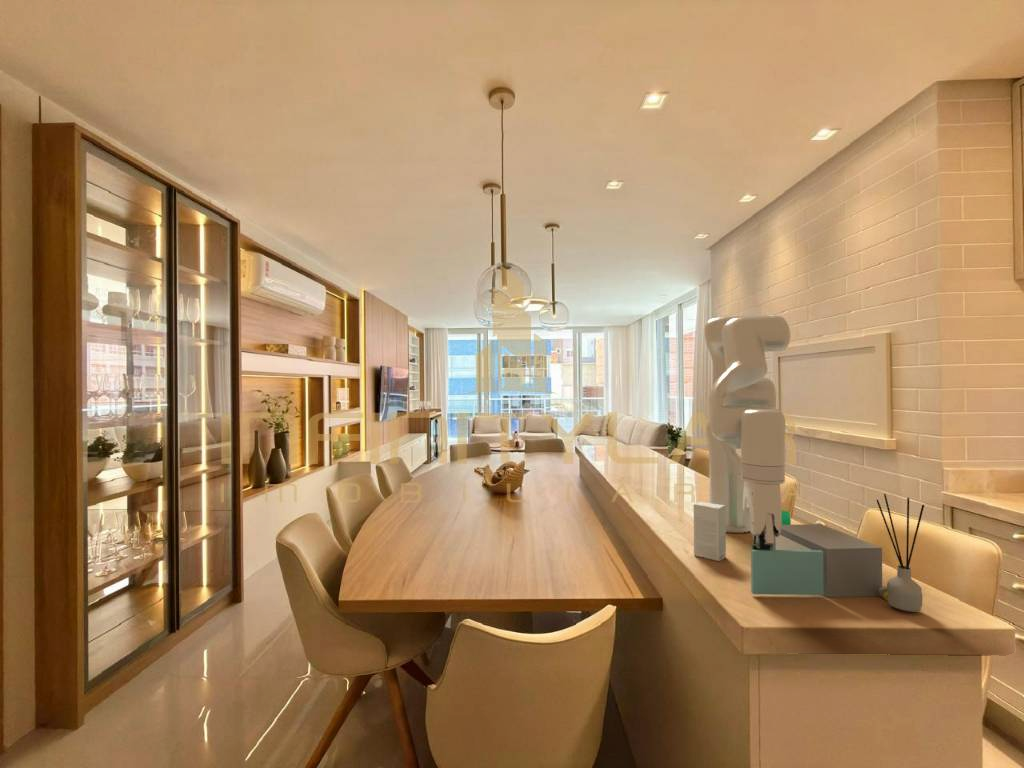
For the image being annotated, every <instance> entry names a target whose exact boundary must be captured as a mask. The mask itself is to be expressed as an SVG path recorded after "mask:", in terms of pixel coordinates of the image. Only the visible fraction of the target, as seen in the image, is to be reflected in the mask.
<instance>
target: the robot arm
mask: <svg viewBox="0 0 1024 768" xmlns="http://www.w3.org/2000/svg"><path fill="white" fill-rule="evenodd" d="M704 338H705V339H704V340H705V343H706V346H707V349H708V351H709V354H710V357H711V361H712V387H711V389H710V391H709V396H708V416H709V417H708V418H709V419H708V420H707V421H706V425H705V434H706V441H707V444H708V445H707V446H708V456H709V457H708V460H709V465H708V466H709V503H712V504H718V505H725V521H726V533H732V534H733V533H736V534H742V533H743V534H744V532H745V533H751V536H752V550H773V545H774V535H775V536H776V537H778V536H780V535H781V526H782V516H781V510H782V498H781V497H782V496H781V495H782V494H781V486H780V485H782V484H785V482H786V480H785V479H786V465H785V464H786V463H785V462H786V461H785V460H786V440H785V439H786V427H787V426H786V425H787V424H786V418H785V415H784V413H783V412H782V411H780V410H779V409H777V391H776V387H775V384H774V382H773V381H772V379H769V378H767V377H765V376H766V375H767V373H768V364H767V359H766V355H765V354H766V353H765V352H782V351H784V350H786V349H787V348H788V346H789V344H790V341H791V330H790V327H789V324H788V322H787V320H786V319H785V318H784V317H783V316H780V315H772V314H766V315H765V314H760V315H729V316H727V315H726V316H718V317H714V318H711V319H709V320H707V322H705V325H704ZM738 450H740V455H739V454H738V452H737V451H738ZM749 531H750V532H749Z"/></svg>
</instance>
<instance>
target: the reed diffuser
mask: <svg viewBox="0 0 1024 768" xmlns="http://www.w3.org/2000/svg"><path fill="white" fill-rule="evenodd" d="M883 496H884V500H885V504H886V509H887V511H888V517H889V521H890V525H891V529H892V533H893V537H894V539H893V537H892V534H891V531H890V529H889V526H888V523H887V520H886V518H885V514H884V512H883V509H882V506H881V504H880V502H879V499H876V503H877V505H878V508H879V512H880V514H881V516H882V519H883V522H884V524H885V528H886V530H887V533H888V535H889V538H890V541H891V543H892V546H893V550H894V552H895V555H896V557H897V560H898V562H899V563H898V564H899V565H897V566H896V569H897V570H896V576H893V577H891V578H890V579H888V580H887V583H886V586H883V585H882V587H880V588H879V593H880V595H881V596H880V597H882V598H883V599H884V600H886V601H887V604H888V605H890V606H891V607H892V608H895V609H897V610H900V611H906V612H912V613H913V612H914V613H916V612H918V613H919V612H921V611H922V607H923V591H922V587H921V585H919V583H918V582H916V581H915V580H913V578H912V568H911V567H910V563H911V561H912V555H913V551H914V548H915V547H914V546H915V543H916V541H917V540H916V539H917V535H918V532H919V528H920V524H921V520H922V516H923V512H924V509H925V504H921V509H920V511H919V517H918V519H917V520H918V521H917V525H916V528H915V531H914V537H913V539H912V540H913V541H912V545H911V549H910V553H909V547H910V546H909V540H910V539H909V537H910V536H909V535H910V534H909V533H910V532H909V531H910V498H909V497H906V501H907V504H906V554H905V555H906V562H905V564H906V565H904V564H903V559H902V555H901V551H900V546H899V543H898V539H897V535H896V531H895V527H894V523H893V519H892V515H891V514H892V513H891V511H890V510H891V509H890V506H889V501H888V498H887V495H886V493H883Z"/></svg>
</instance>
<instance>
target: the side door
mask: <svg viewBox="0 0 1024 768" xmlns="http://www.w3.org/2000/svg"><path fill="white" fill-rule="evenodd" d="M750 568H751V569H750V576H751V577H750V593H751V594H752V595H779V596H781V595H783V596H785V595H786V596H787V595H791V596H792V595H796V596H797V595H798V596H800V595H801V596H803V595H804V596H806V595H807V596H810V595H811V596H824V595H823V551H821V550H753V549H750Z"/></svg>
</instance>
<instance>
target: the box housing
mask: <svg viewBox="0 0 1024 768" xmlns="http://www.w3.org/2000/svg"><path fill="white" fill-rule="evenodd" d="M774 550H821V551H823V595H822V596H824V597H825V598H850V597H851V598H853V597H855V598H857V597H858V598H859V597H882V596H881V595H880V593H879V588H880V587H883V547H881V546H878V545H876V544H874V543H871V542H869V541H866V540H863V539H860V538H858V537H855V536H853V535H850V534H847V533H845V532H842V531H839V530H837V529H834V528H831V527H830V526H828V525H827V526H826V525H824V524H821V523H817V524H813V523H811V524H810V523H808V524H807V523H806V524H791V525H782V526H781V535H780V536H778V537H776V536H775V535H774Z"/></svg>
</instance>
